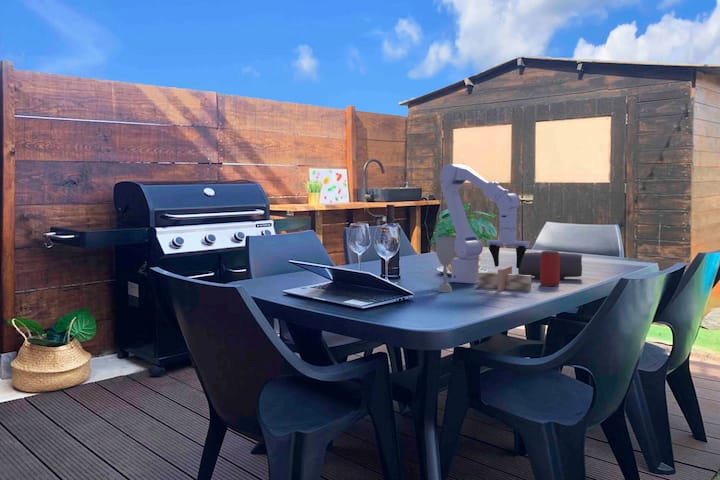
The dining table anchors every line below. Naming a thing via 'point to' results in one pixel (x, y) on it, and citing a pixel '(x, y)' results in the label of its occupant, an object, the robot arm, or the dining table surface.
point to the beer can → (549, 268)
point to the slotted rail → (513, 282)
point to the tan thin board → (503, 277)
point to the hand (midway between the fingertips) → (507, 267)
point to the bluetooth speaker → (568, 265)
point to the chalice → (445, 258)
